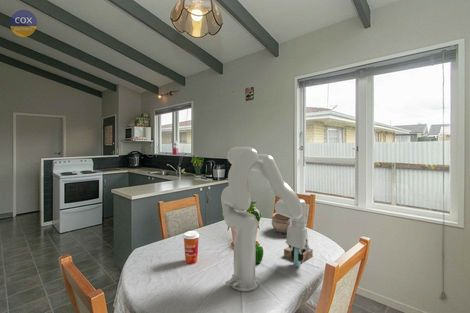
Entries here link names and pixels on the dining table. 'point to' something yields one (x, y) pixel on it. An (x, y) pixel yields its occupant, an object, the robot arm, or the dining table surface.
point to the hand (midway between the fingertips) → (297, 259)
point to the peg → (296, 257)
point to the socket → (306, 254)
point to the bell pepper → (258, 253)
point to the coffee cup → (191, 246)
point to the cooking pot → (280, 223)
